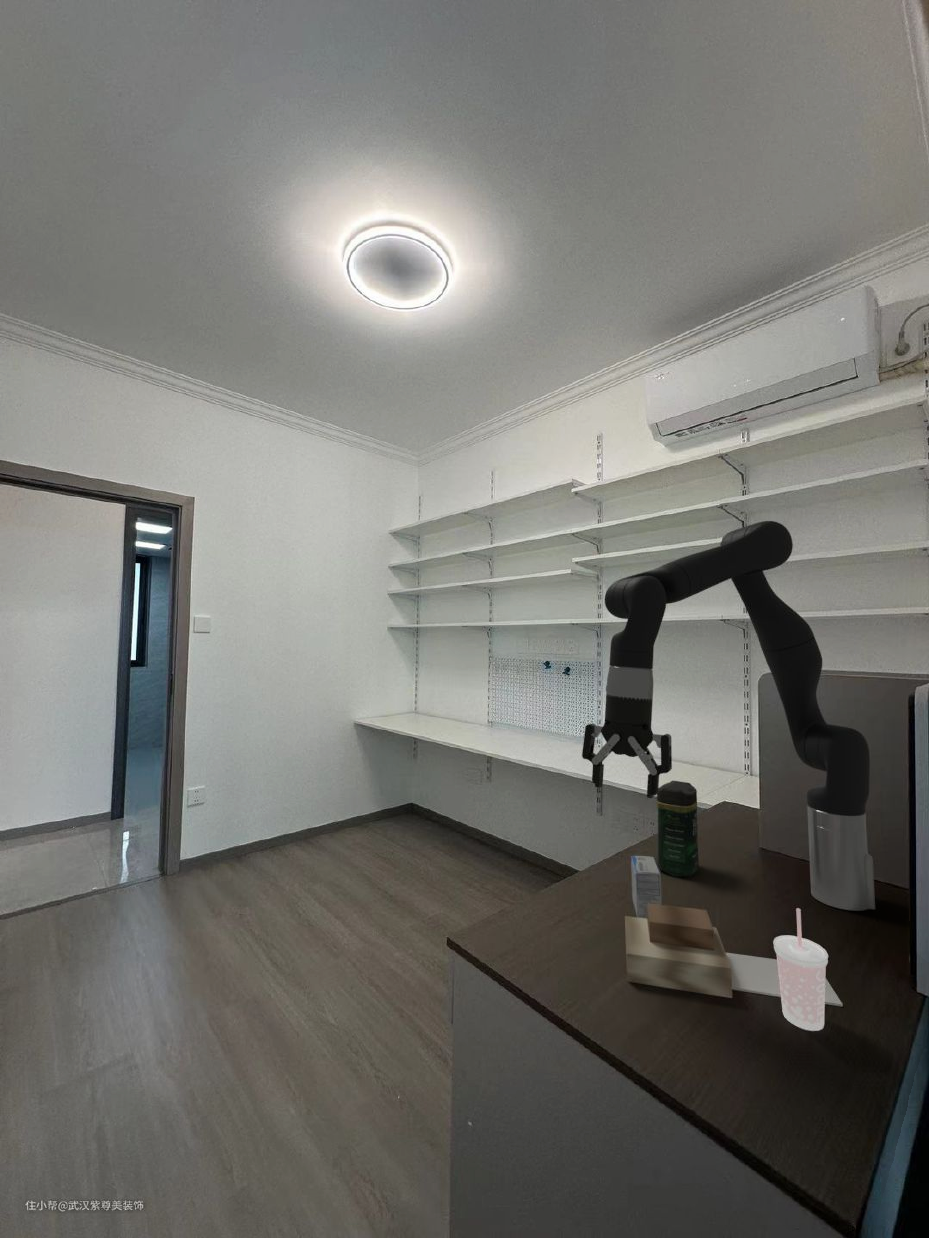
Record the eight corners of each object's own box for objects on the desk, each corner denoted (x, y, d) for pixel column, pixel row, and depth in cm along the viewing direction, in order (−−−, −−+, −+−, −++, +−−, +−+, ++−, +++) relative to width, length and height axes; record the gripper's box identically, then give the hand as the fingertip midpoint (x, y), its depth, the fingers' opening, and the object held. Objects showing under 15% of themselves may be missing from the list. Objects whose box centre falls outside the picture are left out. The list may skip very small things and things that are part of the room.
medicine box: (663, 923, 92) (661, 873, 92) (636, 921, 93) (635, 871, 93) (655, 902, 100) (654, 856, 100) (631, 900, 101) (630, 854, 101)
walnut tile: (707, 929, 83) (706, 909, 83) (714, 950, 77) (713, 929, 77) (647, 921, 85) (646, 902, 85) (649, 941, 79) (649, 921, 80)
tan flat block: (717, 953, 83) (716, 927, 83) (732, 998, 72) (731, 968, 73) (625, 940, 87) (624, 915, 87) (627, 981, 76) (626, 953, 76)
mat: (817, 967, 79) (817, 965, 79) (842, 1006, 71) (842, 1004, 71) (717, 953, 83) (717, 951, 83) (729, 988, 74) (729, 986, 74)
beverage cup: (804, 1039, 65) (799, 923, 66) (765, 1006, 71) (761, 900, 72) (843, 1030, 66) (838, 917, 67) (802, 998, 72) (797, 895, 73)
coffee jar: (693, 881, 108) (690, 791, 109) (654, 872, 113) (651, 785, 114) (703, 865, 116) (700, 781, 117) (666, 857, 121) (663, 776, 122)
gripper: (678, 698, 87) (673, 796, 86) (594, 689, 95) (589, 779, 94) (669, 700, 81) (664, 806, 80) (581, 690, 88) (575, 787, 87)
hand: (623, 791), depth 87 cm, fingers open, 8 cm apart
